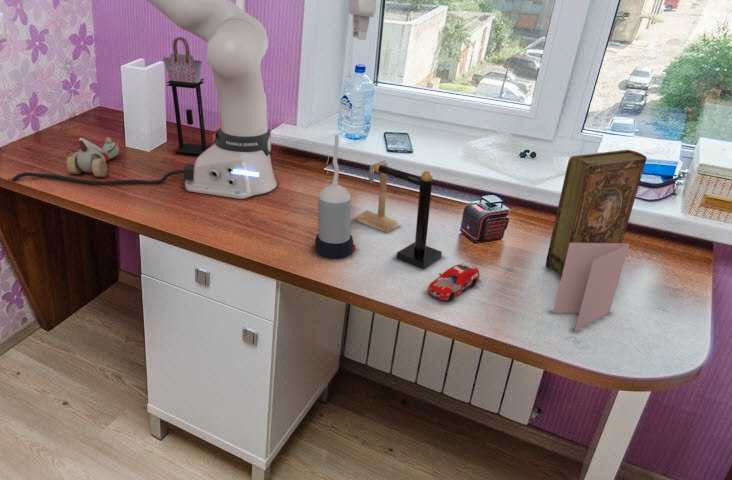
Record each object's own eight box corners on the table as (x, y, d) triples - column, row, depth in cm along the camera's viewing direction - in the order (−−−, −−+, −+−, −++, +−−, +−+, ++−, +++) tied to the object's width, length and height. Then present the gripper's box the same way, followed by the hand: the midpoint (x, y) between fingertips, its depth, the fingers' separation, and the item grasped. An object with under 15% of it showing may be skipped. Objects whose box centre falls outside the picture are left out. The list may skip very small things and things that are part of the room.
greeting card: (607, 310, 126) (627, 241, 118) (622, 331, 120) (644, 260, 112) (551, 310, 125) (568, 240, 116) (563, 331, 119) (582, 260, 110)
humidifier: (360, 254, 138) (364, 139, 124) (324, 261, 134) (325, 144, 120) (343, 238, 143) (345, 127, 130) (309, 245, 140) (307, 130, 126)
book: (602, 257, 146) (631, 149, 132) (618, 268, 142) (650, 158, 128) (544, 268, 139) (568, 156, 125) (560, 281, 135) (587, 166, 121)
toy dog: (123, 154, 176) (117, 121, 171) (122, 179, 162) (115, 144, 157) (74, 155, 172) (66, 122, 167) (68, 181, 158) (59, 146, 153)
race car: (444, 306, 123) (446, 288, 121) (422, 295, 126) (423, 277, 124) (483, 282, 132) (485, 265, 130) (462, 272, 135) (464, 255, 132)
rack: (380, 234, 147) (385, 151, 136) (441, 257, 139) (451, 171, 129) (361, 244, 142) (364, 159, 131) (423, 269, 134) (432, 180, 124)
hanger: (368, 215, 155) (370, 154, 147) (398, 226, 151) (402, 164, 143) (352, 222, 151) (354, 160, 142) (383, 234, 147) (387, 171, 138)
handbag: (215, 148, 185) (205, 36, 168) (206, 157, 179) (194, 41, 162) (180, 144, 186) (166, 32, 169) (169, 153, 179) (154, 37, 163)
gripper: (345, -32, 146) (341, 34, 152) (355, -37, 128) (349, 39, 134) (372, -28, 147) (367, 38, 153) (386, -32, 129) (379, 42, 135)
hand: (359, 38), depth 143 cm, fingers open, 8 cm apart
